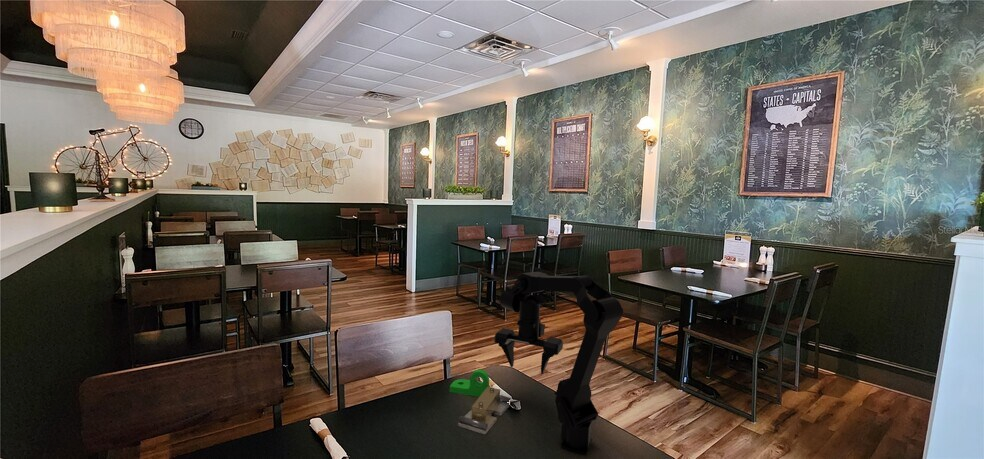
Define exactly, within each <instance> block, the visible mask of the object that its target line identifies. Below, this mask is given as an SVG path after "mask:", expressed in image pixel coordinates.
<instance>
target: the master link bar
mask: <svg viewBox="0 0 984 459" xmlns="http://www.w3.org/2000/svg"><path fill="white" fill-rule="evenodd" d="M500 395H501V389H499V388H494V387H492V388H490V387H487V388H486V389H485V391H484V392H483V393H482V394H481V396H480V397H478V398H477V399H476V401H475V402H474V403H473V404H472V405H471V410H472V419H473V420H476V421H480V422H483V423H487V421H488V420H489V418H490V417H491V416H492V415H494V414H493V412H494V411H495V409H496V408H497V406H498V405H499V403H500Z"/></svg>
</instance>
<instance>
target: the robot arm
mask: <svg viewBox="0 0 984 459" xmlns="http://www.w3.org/2000/svg"><path fill="white" fill-rule="evenodd" d="M540 292H563V293H564V292H566V293H573V294H574V296H575V299H576V302H577V307H579V309H580V310H581V311H582V312H583V320H582V322H583V325H584V329H585V332H584V335H583V338H582V341H581V344H580V346H579V349H578V352H577V356H576V359H575V362H574V365H573V368H572V370H571V373H570V376H569V377H568V378H565V379H562V380H559V382H558V383H557V387H556V388H557V389H556V391H555V392H554V395H555V399H554V403H555V406H556V411H557V418H558V422H559V423H560V424H561V425H560V426H561V430H560V441H561V443H560V447H561V448H562V449H565V450H569V451H572V452H576V453H579V454H581V455H584V456H585V455H588V453H589V450H590V447H591V445H592V442H593V439H592V436H591V435H592V422H593V421H596V420H597V418H598V416H599V412H598V411H597V409H596V407H595V405H594V403H593V400H592V389H591V386H590V383H591V381H592V378H593V375H594V372H595V369H596V367H597V363H598V361H599V359H600V355H601V352H602V350H603V347H604V344H605V341H606V339H607V337H608V336H609V334H610V333H611V332H612V331H613V330H615V328H617V326H618V324H619V323H620V320H621V319H622V317H623V314H624V309H623V307H622V304H621V303H620V301H619V300H618V299H617V298H615V297H614V296H613V295H612V293H611V292H609V290H607V289H605V288H604V287H603V286H601V285H600V284H598V283H597V282H596V281H595V279H593V278H592V277H591V276H589V275H579V276H577V275H575V276H574V275H573V276H572V275H548V274H547V273H544V272H542V271H531V272H523V273H519V274H518V277H517V279H516V280H515V282H514V284H513V285H511V284H510V285H506V286H505V287H504V290H503V291H502V292H501V294H500V296H499V300H498V301H499V304H500V306H501V307H502V308H505V309H507V310H509V311H512V312H514V313H518V320H517V322H516V323H517V324H516V325H517V326H518V333H517V334H515V330H514V329H510V328H505V327H503V328H502V329H500V330H498V331H497V332H496V333H494V338H493V340H494V343H496V344H498V347H500V348H501V350H502V351H503V353H504V355H505V356H506V359H507V362H508V364H509V367H511V368H513V367H514V364H515V359H514V358H515V354H514V351H515V349H514V347H515V342H516V343H521V344H526V345H531V346H536V347H541V348H542V349H543V351H542V353H541V364H540V373H541V375H543V374H544V373H545V371H546V369H547V366H548V363H549V360H550V359H551V358H553V357H554V356H557V355H559V353H561V351H562V350H563V349H564V342H563V340H562V339H561V338H558V337H552V336H549V337H548V338H547V339H541V337H542V336H544V335H545V329H546V324H545V323H542V319H541V318H540V316H541V314H540V311H541V310H540V309H541V305H544V304H547V301H546V299H544V297H543V296H542V294H536V295H535V293H540ZM588 295H589V296H591V297H592V298H593V299H594V300H591V299H590V298H589V296H588Z"/></svg>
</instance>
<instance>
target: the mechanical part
mask: <svg viewBox="0 0 984 459" xmlns="http://www.w3.org/2000/svg"><path fill="white" fill-rule="evenodd" d="M477 378H480V379H481V380H482V381H478V380H477ZM489 383H490V376H489V374H488V372H487V371H486V370H484V369H480V368H478V369H475V370H474V371H473V372H472V374H471V375H470V378H469V379H465V378H459V379H456V380H454V381H453V382H452V383H451V384H450V385H449V392H450V393H453V394H458V395H459V394H460V395H467V396H472V397H478V398H479V397H480V396H481V394H482V393H483V392H484V391H485V389H486V388H487V387H490V386H489Z"/></svg>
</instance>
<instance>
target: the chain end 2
mask: <svg viewBox="0 0 984 459" xmlns="http://www.w3.org/2000/svg"><path fill="white" fill-rule="evenodd" d="M510 399H511V400H512V397H510V396H506V395H502V394H500V403H499V405H498V406H497V408H496V409H495V411H494V412H493V414H492V415H497V416H502V415H503V414H504V413H505V412H506V411H507V410H508V408H509V407H510V406H509V403H507V402H509V400H510Z"/></svg>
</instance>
